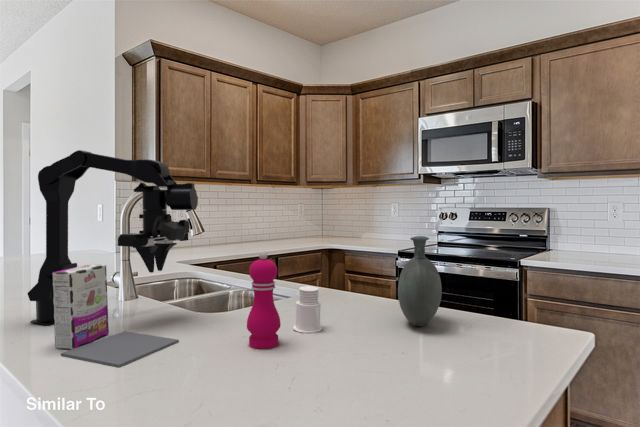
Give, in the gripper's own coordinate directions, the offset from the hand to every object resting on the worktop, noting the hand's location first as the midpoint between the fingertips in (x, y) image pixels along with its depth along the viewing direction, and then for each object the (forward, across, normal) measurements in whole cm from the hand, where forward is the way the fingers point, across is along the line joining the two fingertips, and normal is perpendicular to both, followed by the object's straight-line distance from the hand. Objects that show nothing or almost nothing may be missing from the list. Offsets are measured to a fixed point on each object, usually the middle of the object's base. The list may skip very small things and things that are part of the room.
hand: (155, 271), depth 112 cm
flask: (+13, +24, -62) cm, 68 cm away
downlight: (+13, +10, -38) cm, 41 cm away
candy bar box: (+13, -18, +4) cm, 23 cm away
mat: (+13, -18, -8) cm, 24 cm away
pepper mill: (+13, -4, -34) cm, 37 cm away
